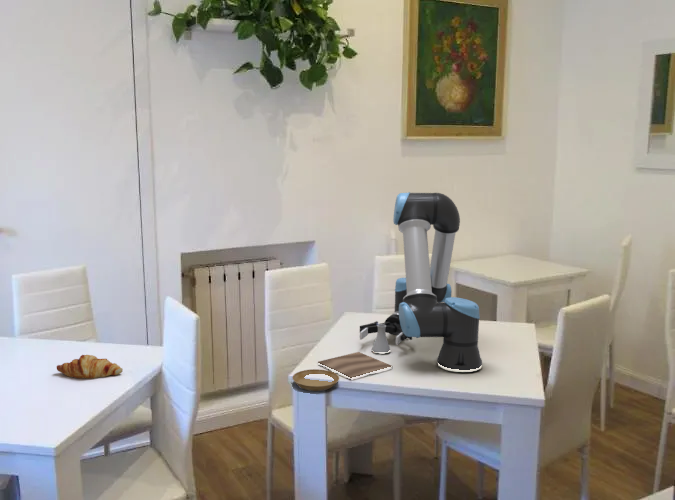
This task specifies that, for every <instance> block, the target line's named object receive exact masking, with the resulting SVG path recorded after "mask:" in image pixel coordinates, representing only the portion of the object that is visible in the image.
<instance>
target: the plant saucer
mask: <svg viewBox="0 0 675 500" xmlns="http://www.w3.org/2000/svg"><path fill="white" fill-rule="evenodd" d="M309 374H325V375H328V376H330V377H332V378H333V379H334V381H332V382H328V381H319V380H310V379H305V378H304V377H305V376H306V375H309ZM291 378H292V381H293V383H295V385H297V386H298V387H299V388H300V389H302V390H304V391H311V392H321V391H326V390H330V389H331V388H332V387H334V386H335V385H336V384H337V383H338V382H339V381H340V375H338V374H336V373H334V372H332V371H329V370H327V369H316V368H314V369H305V370H300V371H298V372H296V373H294V374H293V375H292V377H291Z"/></svg>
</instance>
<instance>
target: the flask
mask: <svg viewBox="0 0 675 500" xmlns="http://www.w3.org/2000/svg"><path fill="white" fill-rule="evenodd" d="M379 324H380V323H379ZM377 327H378V332H376V334H377V335H376V338H375V339H374V340H375V341H374V343H373V345H372V347H371V350H373V351H374V352H388V351H389V350H391V348H390V345H389V341H388V339H387V335H386V334H387V333H386V332H385V328H386V325H383V324H380V325H377Z"/></svg>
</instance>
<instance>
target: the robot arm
mask: <svg viewBox="0 0 675 500" xmlns="http://www.w3.org/2000/svg"><path fill="white" fill-rule="evenodd" d="M393 211H394V212H393V220H392V221H393V225H395V226H398V227H397V228H398V231H399V232H400V233H402V237H403V252H404V253H403V254H404V268H405V269H404V270H405V277H400V278H397V279H396V280H395V287H394V288H395V289H394V312H393V313H392V314H391V315H390V316H388V317H387V318H386V319H385V320H384V321H383V322H382V323H379V321H377V320H376V321H374V322H371V323H367V324H366V323H365V324H362V325H359V340H364V339H365V338H366V337H367V336H368V335H370V334H374V333H376V334H377V333H378V327H377V325H380V324H383V325H386V328H385V333H386V334H389V335H392V336H395V345H398V346H399V344H401V342H402V341H403V342H404V341H405V340H407V339H408V340H409V341H411V340H412V339H413V338H416V339H419V338H443V340H442V342H443V343H442V345H441V348H440V350H439V354H438V356H437V358H436V359H437V362H438V363H439V364H440V365H442V366H444V367H447V368H451V369H459V370H470V369H476V368H479V367H480V366H481V365H482V366H483V359H482V357H481V354H480V349H479V329H480V328H479V327H480V326H479V325H480V319H481V317H480V307H479V305H478V304H477V302H475V301H474V300H473V301H472V300H470V299H466V298H461V297H456V296H455V297H454V296H452V286H451V284H450V283H448V281H449V275H450V268H451V262H452V257H453V251H454V244H455V238H456V233H458V232H459V231H460V230H459V229H460V224H461V218H460V217H461V216H460V213H459V210H458V207H457V206H456V204H455V202H454V201H453V200H452V199H451V198H450V197H449V196H447V195H446V194H444V193H440V192H410V191H408V192H400V193H399V194H397V196H396V199H395V204H394V210H393ZM431 226H432V227H433V229H434V236H433V244H432V252H431V257H430V256H429V255H430V254H429V240H428V231H429V230H430V229H431ZM430 258H431V259H430ZM437 362H436V363H437Z"/></svg>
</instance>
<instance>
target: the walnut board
mask: <svg viewBox="0 0 675 500" xmlns="http://www.w3.org/2000/svg"><path fill="white" fill-rule="evenodd" d="M318 363H320V364H322V365H325V366H327V367H329V368H331V369H334V370H336V371H338V372H340V373H342V374H344V375H346V376H348V377H350V378H352V377H356V376H360V375H363V374H366V373H370V372H373V371H377V370H380V369H384V368H387V367H391V366H392V365H391V364H389V363H386V362H383V361H381V360H379V359H377V358H374V357H372V356H369V355H367V354H365V353H362V352H359V351H357V352H353V353H349V354H344V355H341V356H336V357H331V358H328V359H323V360H319V361H317V364H318Z"/></svg>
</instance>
